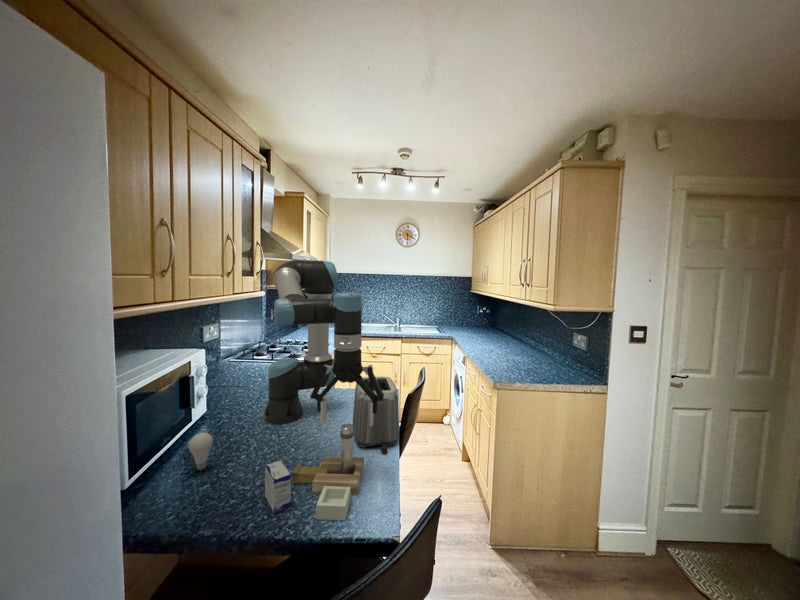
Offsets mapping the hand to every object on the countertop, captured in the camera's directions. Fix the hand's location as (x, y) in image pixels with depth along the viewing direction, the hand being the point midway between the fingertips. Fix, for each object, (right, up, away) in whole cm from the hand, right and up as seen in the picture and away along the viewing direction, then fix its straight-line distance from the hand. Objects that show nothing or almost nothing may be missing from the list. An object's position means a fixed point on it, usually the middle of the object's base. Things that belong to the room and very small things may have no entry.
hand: (347, 423), depth 88 cm
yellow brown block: (-11, -16, +2) cm, 20 cm away
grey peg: (0, -17, +1) cm, 17 cm away
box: (-17, -17, -7) cm, 25 cm away
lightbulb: (-44, -16, +5) cm, 47 cm away
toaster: (+6, -16, +29) cm, 33 cm away
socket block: (-2, -17, +1) cm, 17 cm away
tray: (-2, -18, -10) cm, 20 cm away
